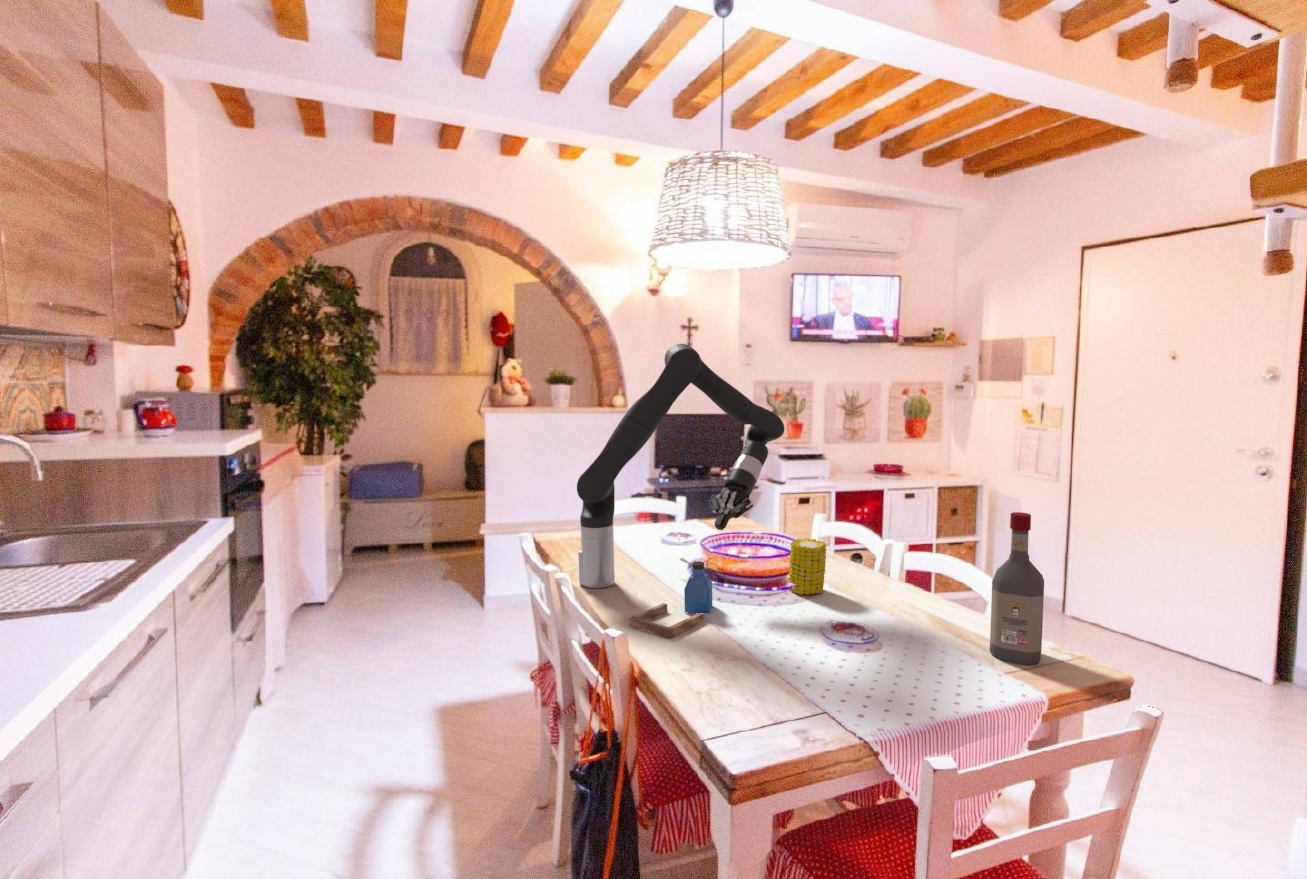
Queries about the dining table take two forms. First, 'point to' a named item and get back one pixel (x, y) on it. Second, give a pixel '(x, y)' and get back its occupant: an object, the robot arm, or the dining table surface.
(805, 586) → the food
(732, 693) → the dining table surface
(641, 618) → the frame
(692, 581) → the perfume bottle
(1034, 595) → the liquor
